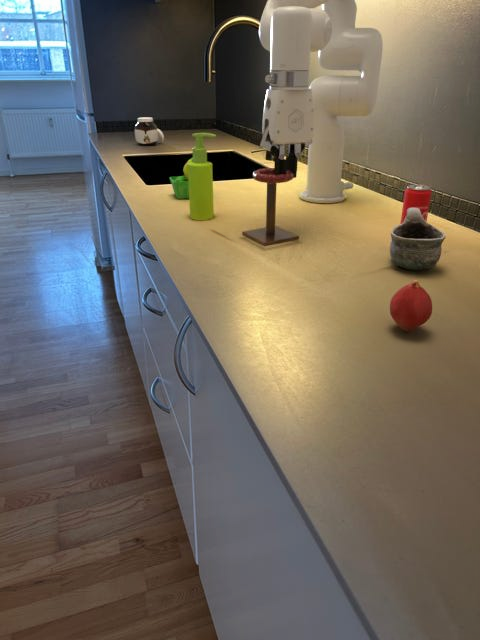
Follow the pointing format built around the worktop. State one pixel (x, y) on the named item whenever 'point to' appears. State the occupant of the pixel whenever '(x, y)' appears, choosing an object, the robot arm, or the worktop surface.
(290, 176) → the ring
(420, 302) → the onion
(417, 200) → the beverage can
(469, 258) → the worktop surface
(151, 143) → the spread jar
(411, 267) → the grey stoneware bowl
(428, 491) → the worktop surface
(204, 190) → the soap dispenser
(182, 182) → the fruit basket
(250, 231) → the stand
